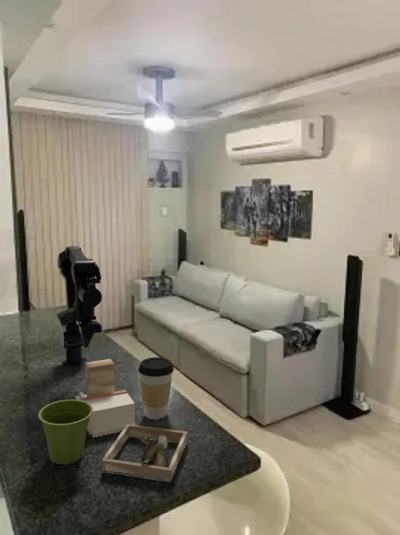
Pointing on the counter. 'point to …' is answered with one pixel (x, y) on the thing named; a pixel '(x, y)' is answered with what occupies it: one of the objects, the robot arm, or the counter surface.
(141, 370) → the coffee cup
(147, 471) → the frame
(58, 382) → the counter surface
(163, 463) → the eagle figurine
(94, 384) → the light wood block
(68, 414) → the plant pot
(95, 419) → the housing
